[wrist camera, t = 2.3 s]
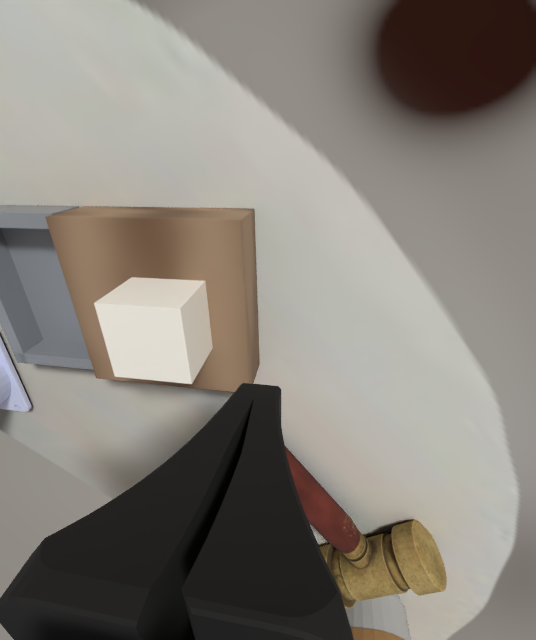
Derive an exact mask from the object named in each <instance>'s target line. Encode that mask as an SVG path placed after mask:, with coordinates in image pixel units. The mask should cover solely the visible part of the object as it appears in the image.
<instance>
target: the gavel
mask: <svg viewBox="0 0 536 640" xmlns="http://www.w3.org/2000/svg"><path fill="white" fill-rule="evenodd" d="M285 450H286V454H287V459H288V462H289V466H290V470H291V473H292V477H293V480H294V483H295V486H296V489H297V492H298V495H299V498H300V501H301V504H302V506H303V509H304V511H305V514H306V516H307V519H308V522H309V523H310V524H311V525H312V526H313V527H314V528H315V529H316V530H317V531H318V532H319V533H320V534H321V535H322V536H323V537H324V538H325V539H326V540H327V541H328V542H329V544H328V545H324V546H321V547H319V548H320V550H321V552H322V554H323V557H324V559H325V561H326V563H327V565H328V567H329V569H330V571H331V573H332V575H333V577H334V579H335V581H336V583H337V585H338V587H339V590H340V593H341V597H342V600H343V604H344V607H345V609H348V608H352V607H353V606H354V605H355V603H356V600H357V601H363V600H368V599H374V598H379V597H384V596H389V595H395V594H400V593H405V592H407V591H408V589H412V591H413V592H414V593H416V594H417V595H424V594H430V593H435V592H441V591H444V590H445V588H446V572H445V567H444V564H443V560H442V557H441V555H440V552H439V550H438V548H437V545H436V543H435V541H434V539H433V538H432V536H431V534H430V533H429V532H428V530H427V529H426V528H425V527H424V526H423V525H422V524H421V523H420V522H418V521H417V520H412V521H409V522H405V523H402V524H398V525H395V526H393V528H392V534H388V533H383V534H379V535H376V536H372V537H368V538H365V537H364V536H363V535H362V534H361V533H360V532H359V531H358V529H357V527H356V526H355V524H354V523H353V521H352V519H351V518H350V517H349V516H348V515H347V514H346V512H345V511H344V510H343V509H342V508H341V507H340V506H339V505H338V504H337V503H336V501H335V500H334V499H333V498H332V497H331V496H330V495H329V494H328V493H327V492H326V490H325V489H324V488H323V487H322V486H321V485H320V484H319V483H318V482H317V481H316V480H315V478H314V477H313V476H312V475H311V474H310V473H309V472H308V471H307V470H306V469H305V467H304V466H303V465H302V464H301V463H300V462H299V461H298V460H297V459H296V458H295V456H294V455H293V454H292V453H291V452H290V451H289V450H288V449H287V448H286V447H285Z"/></svg>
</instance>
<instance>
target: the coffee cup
mask: <svg viewBox="0 0 536 640" xmlns="http://www.w3.org/2000/svg"><path fill="white" fill-rule="evenodd" d="M345 610H346V613H347V617H348V620H349V624H350V627H351V631H352V635H353V639H354V640H411V636H410V631H409V626H408V621H407V617H406V612H405V607H404V605H403V604H402V602H401V601H400V598H399V596H398V595H397V594H395V595H389V596H384V597H379V598H374V599H368V600H363V601H357V600H356V603H355V605H354V606H353V607H352V608H348V609H345Z"/></svg>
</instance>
